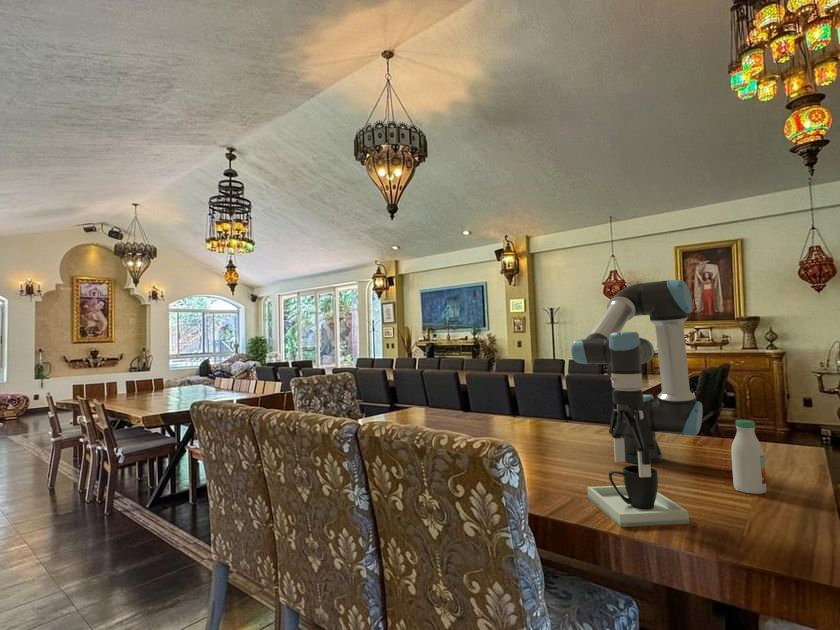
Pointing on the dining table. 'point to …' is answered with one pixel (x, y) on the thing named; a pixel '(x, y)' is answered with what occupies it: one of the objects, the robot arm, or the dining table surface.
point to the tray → (631, 516)
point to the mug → (638, 487)
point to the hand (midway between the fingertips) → (631, 468)
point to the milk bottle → (748, 460)
